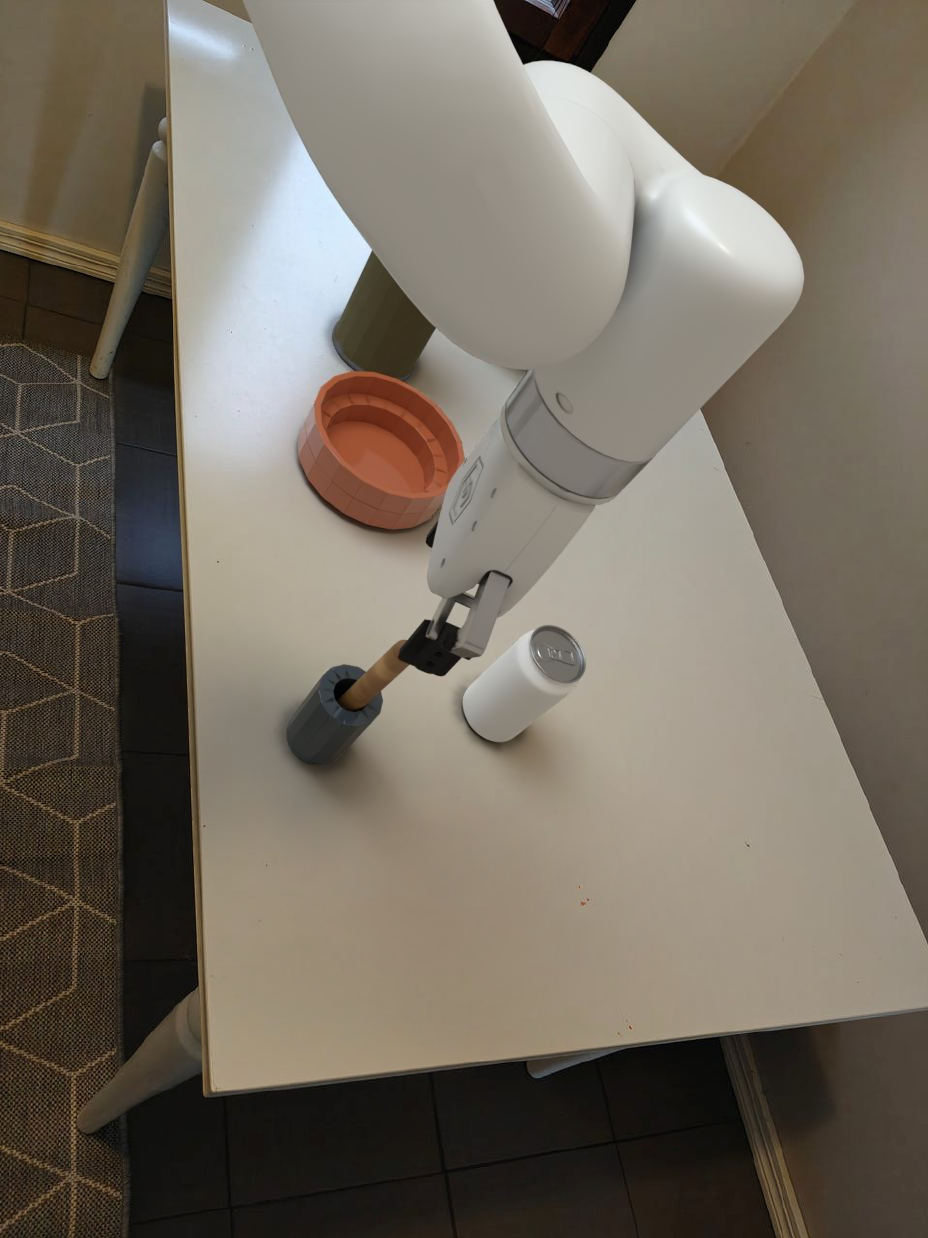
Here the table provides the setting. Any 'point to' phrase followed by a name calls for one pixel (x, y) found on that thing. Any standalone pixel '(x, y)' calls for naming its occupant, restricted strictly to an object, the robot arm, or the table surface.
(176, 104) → the table surface
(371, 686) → the stick
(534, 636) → the can
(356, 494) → the bowl
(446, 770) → the table surface
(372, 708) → the utensil pot
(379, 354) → the canister
